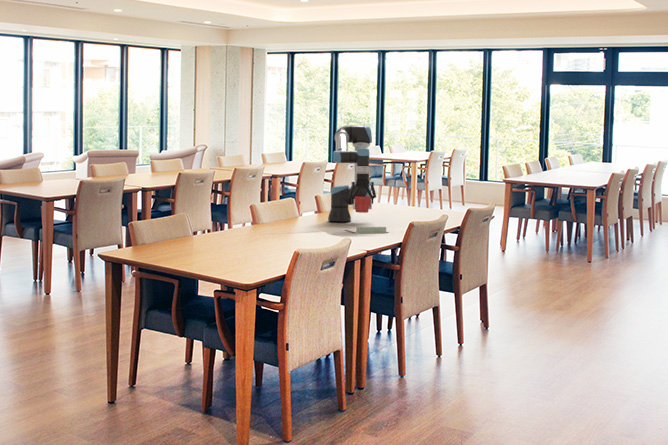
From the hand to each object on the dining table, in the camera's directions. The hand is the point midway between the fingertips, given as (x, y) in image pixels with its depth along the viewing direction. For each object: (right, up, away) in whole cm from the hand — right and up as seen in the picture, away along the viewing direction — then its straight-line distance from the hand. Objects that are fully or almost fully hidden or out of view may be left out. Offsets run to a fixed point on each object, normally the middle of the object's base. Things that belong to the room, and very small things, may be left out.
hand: (362, 209), depth 472 cm
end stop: (+5, -14, -16) cm, 22 cm away
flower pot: (0, -2, 0) cm, 2 cm away
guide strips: (+2, -14, -8) cm, 16 cm away
